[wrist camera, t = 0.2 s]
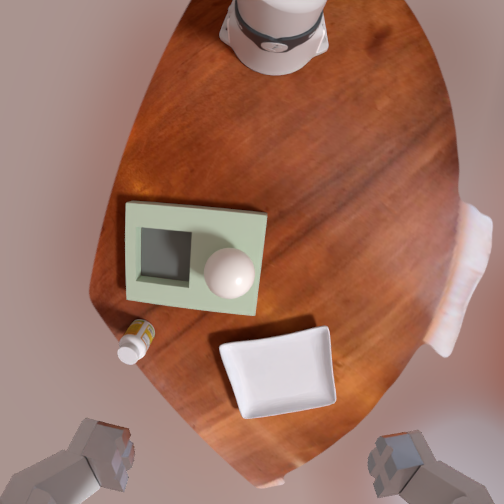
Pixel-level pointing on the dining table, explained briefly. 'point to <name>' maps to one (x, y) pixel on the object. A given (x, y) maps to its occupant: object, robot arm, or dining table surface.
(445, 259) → the dining table surface
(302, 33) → the robot arm
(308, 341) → the salad plate
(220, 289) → the ball
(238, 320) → the dining table surface
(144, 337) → the supplement bottle
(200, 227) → the putting deck
